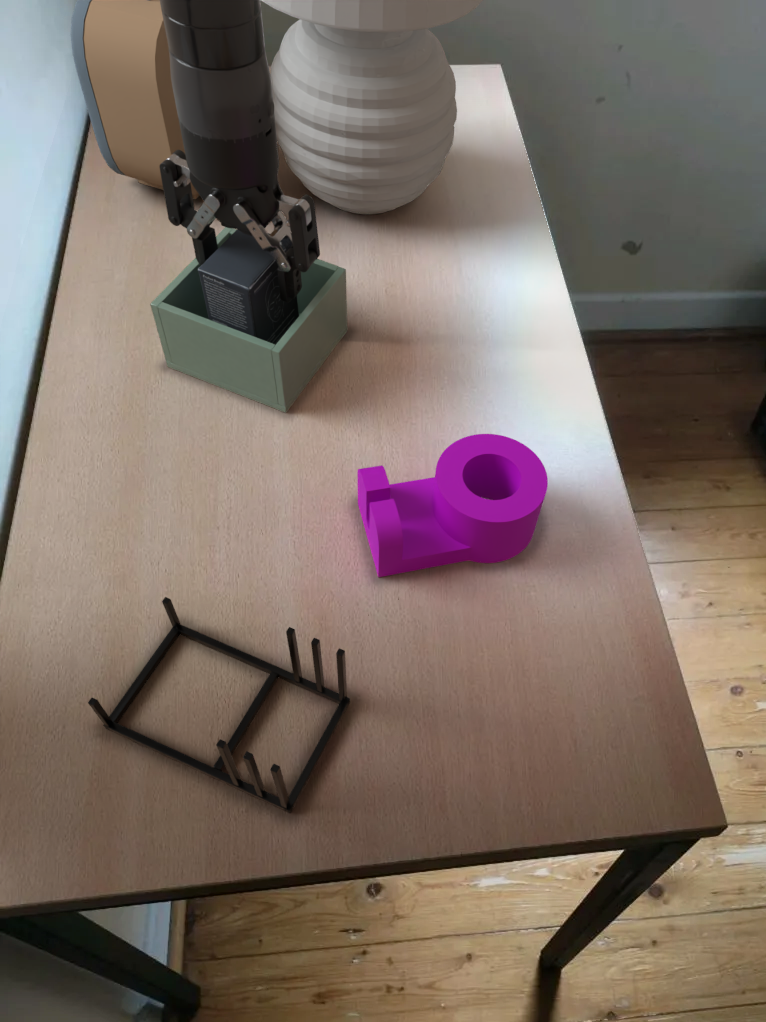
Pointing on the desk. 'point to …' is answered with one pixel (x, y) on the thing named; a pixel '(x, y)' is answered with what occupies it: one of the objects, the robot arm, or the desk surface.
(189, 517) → the desk surface
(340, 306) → the green storage bin
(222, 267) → the box
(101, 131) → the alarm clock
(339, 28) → the table lamp
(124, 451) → the desk surface
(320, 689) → the rack
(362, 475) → the magenta mechanical bracket
